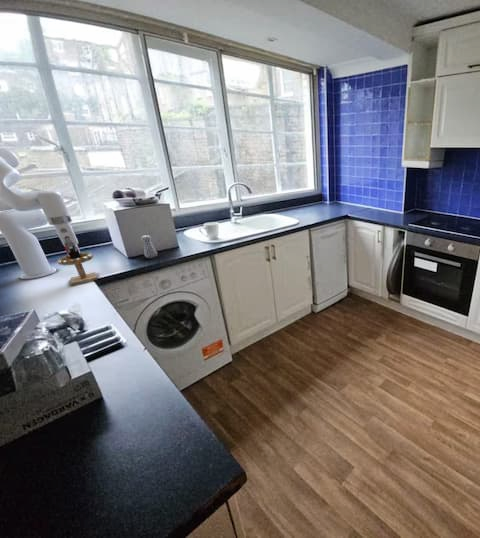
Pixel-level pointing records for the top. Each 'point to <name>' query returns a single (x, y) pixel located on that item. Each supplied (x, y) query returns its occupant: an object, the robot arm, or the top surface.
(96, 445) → the top surface
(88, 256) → the ring
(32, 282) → the top surface
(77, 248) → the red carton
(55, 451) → the top surface
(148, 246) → the salt shaker
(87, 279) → the peg stand
